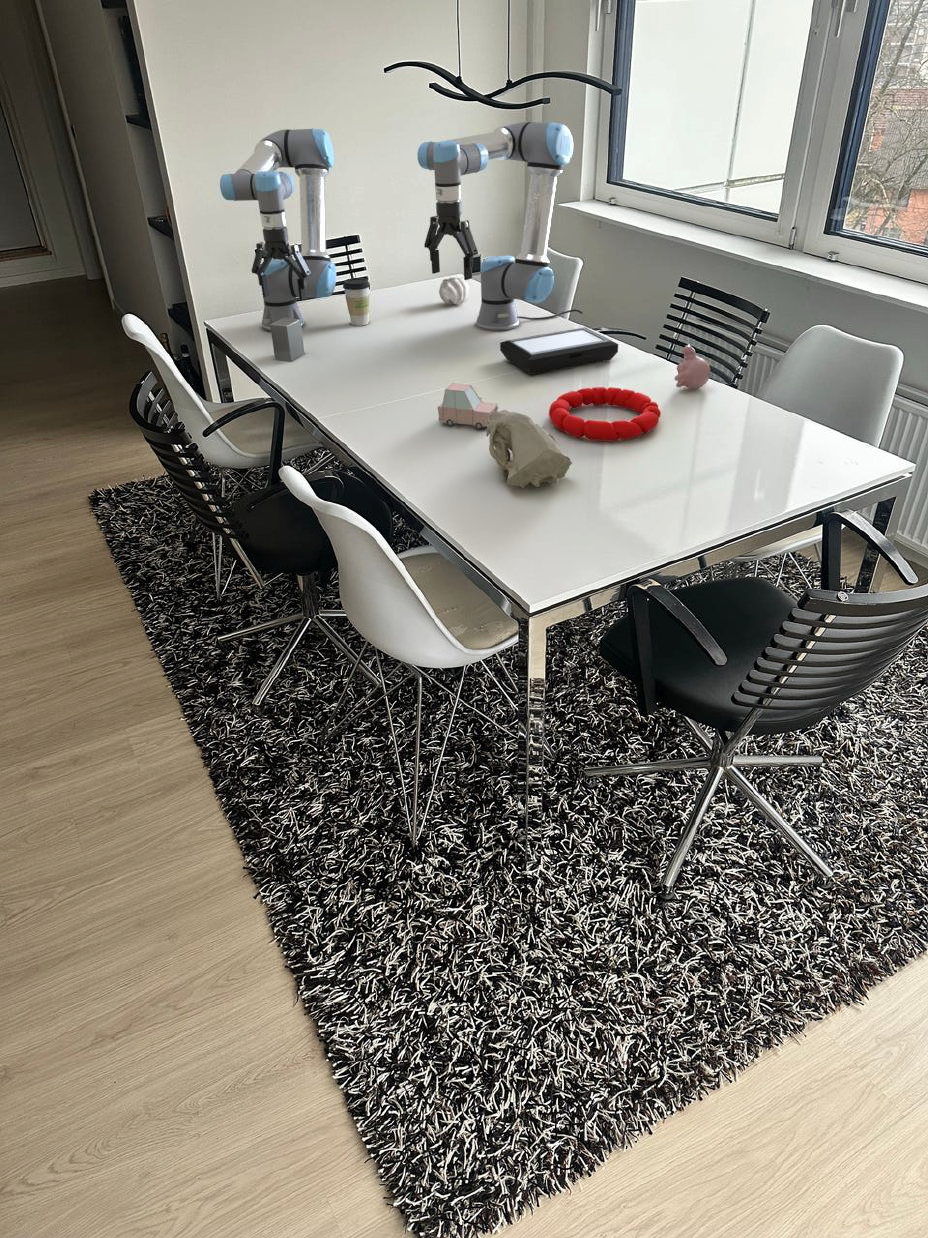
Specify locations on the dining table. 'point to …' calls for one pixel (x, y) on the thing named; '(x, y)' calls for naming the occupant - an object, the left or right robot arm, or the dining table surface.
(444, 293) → the seashell
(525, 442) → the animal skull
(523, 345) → the electronic device
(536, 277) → the right robot arm
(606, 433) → the decorative ring
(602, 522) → the dining table surface
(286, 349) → the block
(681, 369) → the figurine
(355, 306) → the coffee cup
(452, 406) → the toy car
